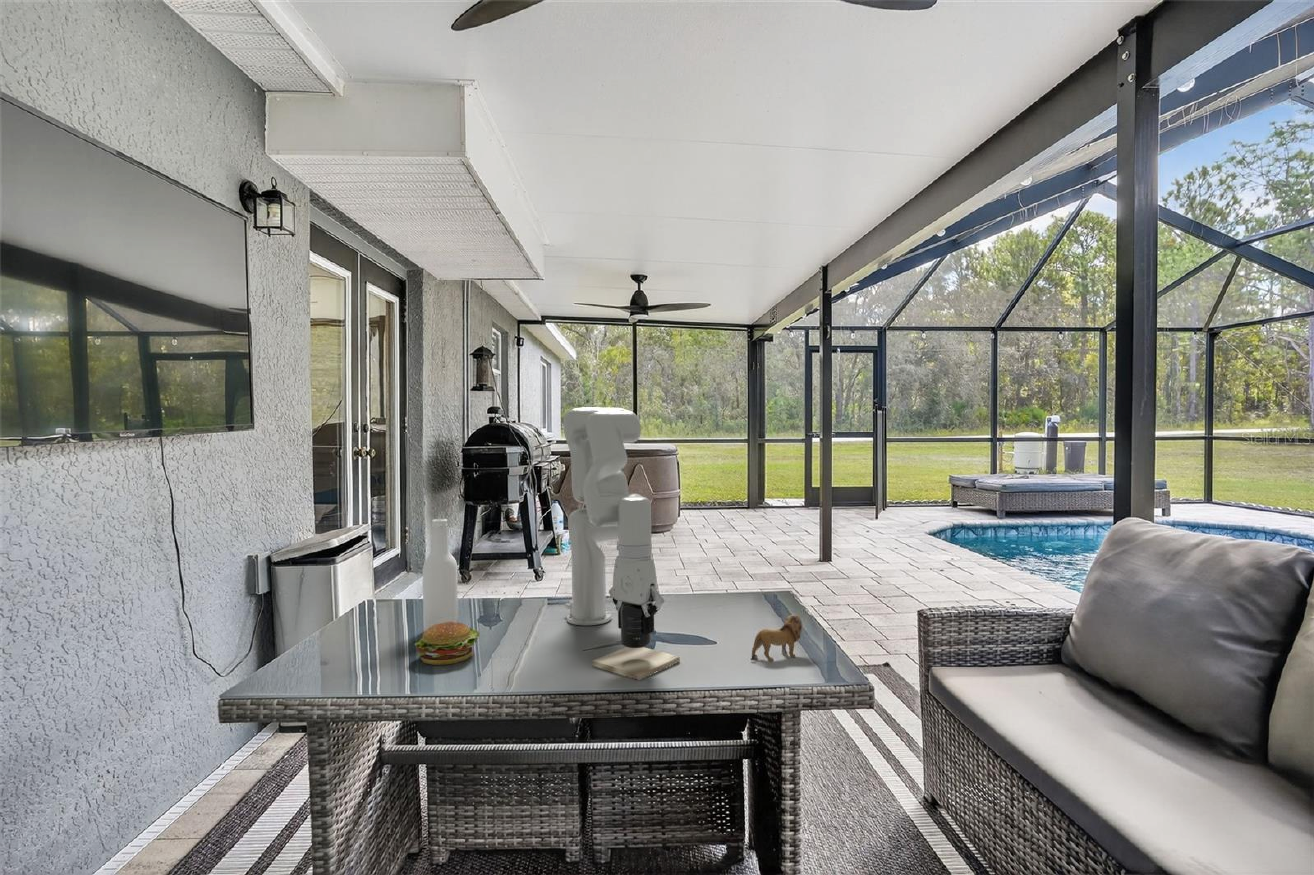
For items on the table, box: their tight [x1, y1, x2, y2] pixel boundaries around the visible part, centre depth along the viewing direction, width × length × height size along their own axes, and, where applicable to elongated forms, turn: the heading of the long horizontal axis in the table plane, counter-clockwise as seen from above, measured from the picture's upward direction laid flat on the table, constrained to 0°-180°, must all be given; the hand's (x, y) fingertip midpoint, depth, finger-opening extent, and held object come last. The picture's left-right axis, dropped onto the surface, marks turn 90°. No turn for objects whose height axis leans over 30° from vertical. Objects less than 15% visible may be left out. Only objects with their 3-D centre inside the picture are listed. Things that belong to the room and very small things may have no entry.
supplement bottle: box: [620, 602, 652, 648], centre depth 144 cm, size 7×7×12 cm
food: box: [414, 621, 480, 666], centre depth 150 cm, size 14×14×8 cm
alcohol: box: [422, 518, 459, 632], centre depth 171 cm, size 9×9×30 cm
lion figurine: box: [750, 614, 803, 662], centre depth 148 cm, size 15×5×9 cm, turn 119°
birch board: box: [592, 647, 680, 681], centre depth 144 cm, size 14×14×1 cm
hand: (636, 629), depth 144 cm, fingers closed on supplement bottle, 6 cm apart
